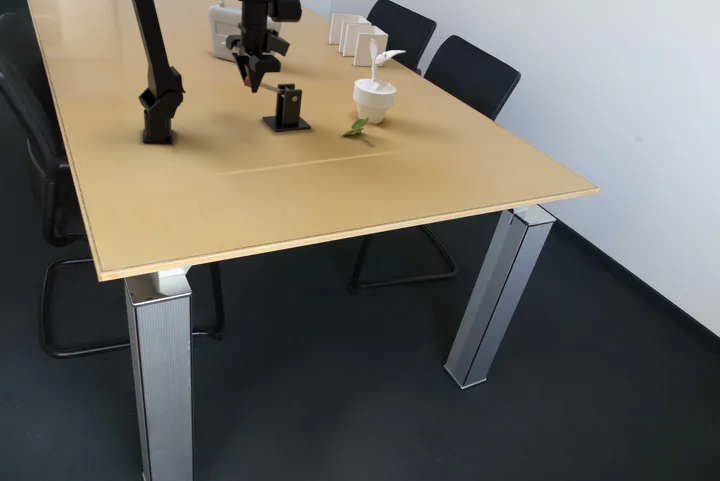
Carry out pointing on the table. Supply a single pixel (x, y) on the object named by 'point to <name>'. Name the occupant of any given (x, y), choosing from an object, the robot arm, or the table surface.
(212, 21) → the radio
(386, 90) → the potted plant
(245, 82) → the red knob lever
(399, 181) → the table surface
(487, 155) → the table surface
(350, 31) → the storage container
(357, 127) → the seedling
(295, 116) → the lever base
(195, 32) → the table surface
